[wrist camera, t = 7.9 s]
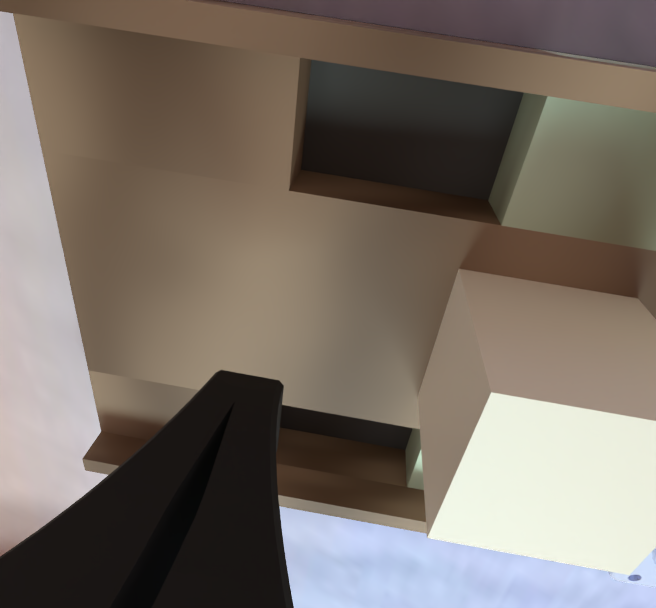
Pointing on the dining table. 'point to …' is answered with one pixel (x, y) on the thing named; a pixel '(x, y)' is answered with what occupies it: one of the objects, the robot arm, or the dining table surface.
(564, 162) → the brown shallow open box
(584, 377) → the cream block
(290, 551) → the dining table surface
